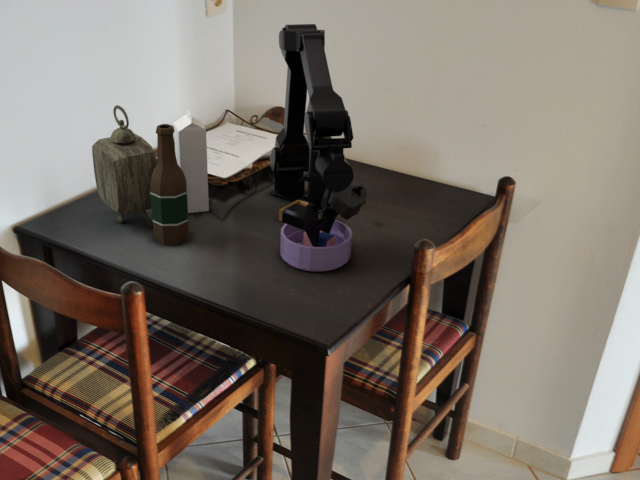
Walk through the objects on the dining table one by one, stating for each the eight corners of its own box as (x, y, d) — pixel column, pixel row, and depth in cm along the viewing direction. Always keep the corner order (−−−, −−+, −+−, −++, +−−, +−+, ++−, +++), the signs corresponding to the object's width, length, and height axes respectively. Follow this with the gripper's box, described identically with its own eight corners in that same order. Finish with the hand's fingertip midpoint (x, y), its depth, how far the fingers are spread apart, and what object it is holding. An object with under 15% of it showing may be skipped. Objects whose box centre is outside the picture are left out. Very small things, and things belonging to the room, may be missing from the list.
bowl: (266, 258, 153) (266, 233, 150) (307, 233, 162) (308, 210, 159) (323, 280, 146) (324, 255, 143) (363, 254, 155) (365, 230, 152)
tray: (278, 219, 168) (278, 209, 166) (298, 209, 173) (298, 199, 171) (315, 233, 163) (316, 222, 161) (334, 222, 167) (335, 211, 166)
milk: (183, 214, 170) (176, 117, 157) (178, 203, 174) (171, 108, 162) (209, 211, 171) (205, 114, 158) (204, 200, 176) (199, 105, 163)
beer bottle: (196, 232, 162) (191, 122, 148) (180, 248, 156) (174, 135, 142) (163, 226, 164) (155, 117, 150) (146, 242, 158) (137, 129, 144)
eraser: (302, 245, 155) (303, 232, 153) (311, 240, 157) (312, 227, 155) (326, 255, 152) (327, 241, 150) (335, 249, 154) (336, 236, 152)
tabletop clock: (162, 227, 164) (154, 113, 149) (123, 237, 160) (111, 120, 145) (135, 203, 174) (124, 94, 159) (97, 212, 169) (83, 100, 155)
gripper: (330, 197, 135) (324, 273, 144) (385, 167, 147) (377, 239, 156) (280, 180, 140) (278, 255, 149) (338, 153, 152) (333, 223, 161)
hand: (319, 243), depth 154 cm, fingers closed on eraser, 3 cm apart
